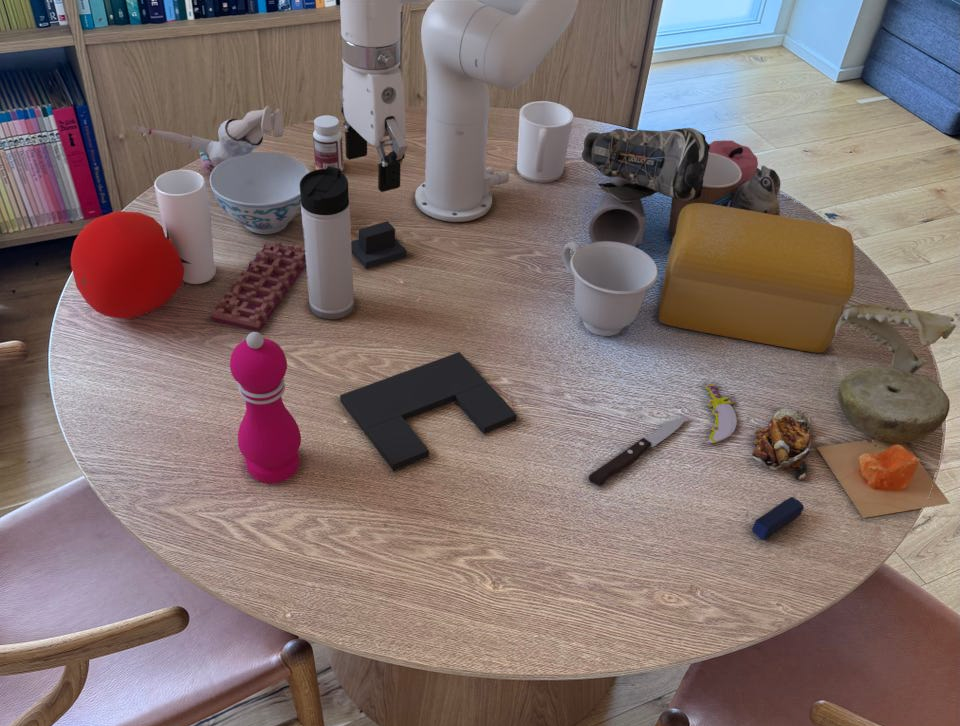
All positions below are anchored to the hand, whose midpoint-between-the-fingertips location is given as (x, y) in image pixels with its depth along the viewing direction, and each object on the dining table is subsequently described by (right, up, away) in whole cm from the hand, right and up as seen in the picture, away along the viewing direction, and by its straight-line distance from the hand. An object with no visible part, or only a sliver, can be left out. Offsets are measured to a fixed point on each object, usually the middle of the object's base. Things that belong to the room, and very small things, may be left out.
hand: (372, 172), depth 133 cm
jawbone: (+72, -21, -4) cm, 75 cm away
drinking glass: (-26, -14, +4) cm, 30 cm away
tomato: (-38, -17, -10) cm, 43 cm away
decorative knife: (+49, -35, -10) cm, 61 cm away
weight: (+69, -32, -12) cm, 77 cm away
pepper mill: (-10, -42, -20) cm, 48 cm away
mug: (+26, +9, +29) cm, 40 cm away
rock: (+64, -45, -13) cm, 80 cm away
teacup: (+32, -21, +3) cm, 38 cm away
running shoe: (+45, +4, +10) cm, 46 cm away
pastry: (+55, -41, -11) cm, 69 cm away
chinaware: (-18, -3, +14) cm, 23 cm away
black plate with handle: (0, -9, +10) cm, 14 cm away
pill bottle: (-10, +9, +26) cm, 29 cm away
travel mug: (-6, -19, +1) cm, 20 cm away
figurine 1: (-13, +7, -3) cm, 15 cm away
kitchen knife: (+36, -40, -16) cm, 57 cm away
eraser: (+53, -46, -22) cm, 74 cm away
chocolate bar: (-16, -16, +3) cm, 23 cm away
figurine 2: (+55, -6, +13) cm, 56 cm away
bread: (+54, -19, +5) cm, 57 cm away
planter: (+37, +2, +23) cm, 43 cm away
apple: (+56, +5, +28) cm, 63 cm away
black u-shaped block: (+9, -35, -13) cm, 38 cm away
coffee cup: (+49, -4, +19) cm, 53 cm away
